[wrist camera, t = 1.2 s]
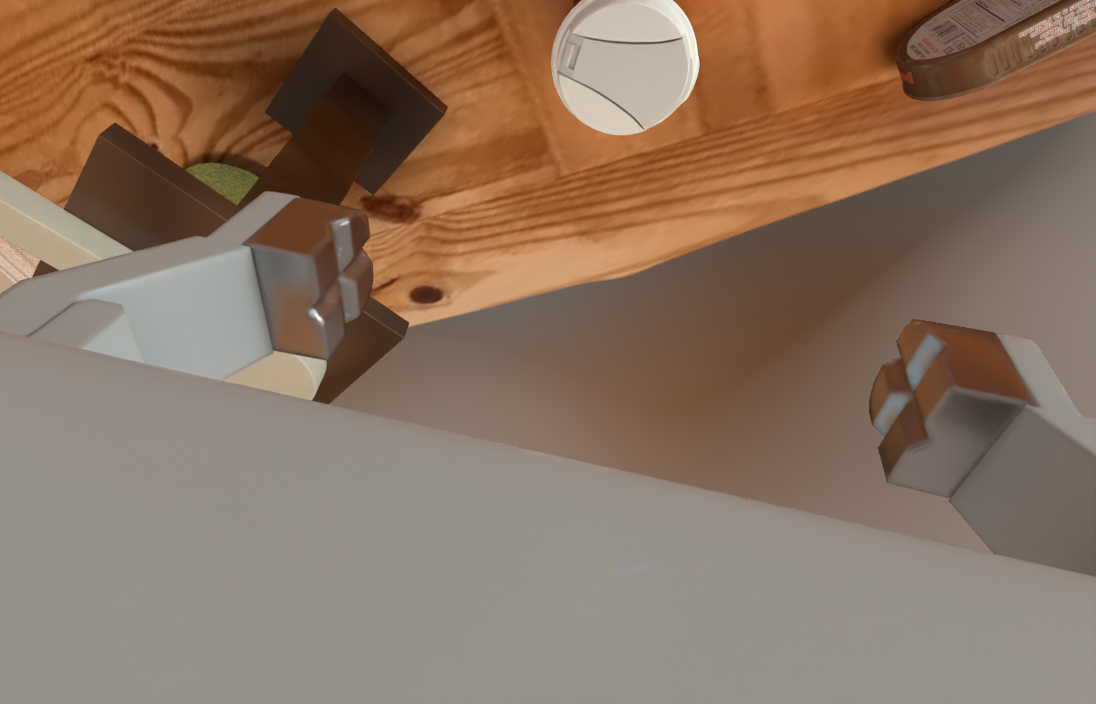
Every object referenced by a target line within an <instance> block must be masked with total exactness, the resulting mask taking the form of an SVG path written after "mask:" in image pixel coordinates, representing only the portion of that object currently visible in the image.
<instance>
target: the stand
mask: <svg viewBox="0 0 1096 704" xmlns="http://www.w3.org/2000/svg"><path fill="white" fill-rule="evenodd" d="M447 108H448V107H447V106H446V105H444V104H443V103H442V102H441V101H440V100H439V99H438V98H437V97H435V96H434V95H433V94H432V93H431V92H430V91H429V90H428V89H426V88H425V87H424V86H423V85H422V84H421V83H420V82H418V81H417V80H416V79H415V78H414V77H413V76H412V75H411V74H409V73H408V72H407V71H406V70H405V69H404V68H403V67H402V66H400V65H399V64H398V63H397V62H396V61H395V60H394V59H392V58H391V57H390V56H389V55H388V54H387V53H386V52H385V51H383V50H382V49H381V48H380V47H379V46H378V45H377V44H376V43H374V42H373V41H372V40H371V39H370V38H369V37H368V36H366V35H365V34H364V33H363V32H362V31H361V30H360V29H359V28H357V27H356V26H355V25H354V24H353V23H352V22H351V21H350V20H348V19H347V18H346V17H345V16H344V15H343V14H342V13H340V12H339V11H338V10H337V9H336V8H335V9H334V10H333V11H332V12H331V13H330V14H329V16H328V17H327V19H326V20H325V22H324V23H323V25H322V26H321V28H320V29H319V31H318V32H317V34H316V35H315V37H314V38H313V40H312V41H311V43H310V44H309V46H308V47H307V49H306V50H305V52H304V54H303V55H302V57H301V58H300V60H299V61H298V63H297V64H296V66H295V67H294V69H293V70H292V72H291V73H290V75H289V76H288V78H287V79H286V81H285V82H284V84H283V85H282V87H281V88H280V90H279V92H278V93H277V95H276V96H275V98H274V99H273V101H272V102H271V104H270V105H269V107H268V108H267V110H266V111H265V113H267V114H268V115H269V116H271V117H272V118H273V119H274V120H276V121H277V122H278V123H280V124H281V125H282V126H284V127H285V128H286V129H288V130H289V131H290V132H291V133H293V134H294V135H293V136H292V137H291V139H290V140H289V141H288V142H287V144H286V145H285V146H284V147H283V149H282V150H281V151H280V152H279V154H278V155H277V156H276V157H275V159H274V160H273V161H272V162H271V164H270V165H269V166H268V167H267V169H266V170H265V171H264V172H263V174H262V175H261V176H260V177H259V179H258V180H257V181H256V182H255V184H254V185H253V186H252V187H251V189H250V190H249V191H248V192H247V194H246V195H245V196H244V197H243V199H242V200H241V201H240V202H239V204H238V205H236V204H234V203H233V202H231V201H230V200H228V199H227V198H225V197H224V196H222V195H221V194H219V193H218V192H217V191H215V190H214V189H212V188H211V187H209V186H208V185H206V184H205V183H203V182H202V181H200V180H199V179H197V178H196V177H195V176H193V175H192V174H190V173H189V172H187V171H186V170H184V169H183V168H181V167H180V166H178V165H177V164H175V163H174V162H172V161H171V160H170V159H168V158H167V157H165V156H164V155H162V154H161V153H159V152H158V151H156V150H155V149H153V148H152V147H150V146H149V145H148V144H146V143H145V142H143V141H142V140H140V139H139V138H137V137H136V136H134V135H133V134H131V133H130V132H128V131H127V130H126V129H124V128H123V127H121V126H120V125H118V124H117V123H114V124H112V125H111V126H110V127H109V128H107V129H106V130H105V131H103V132H102V133H101V134H100V135H99V136H98V138H97V140H96V142H95V144H94V147H93V149H92V151H91V153H90V155H89V157H88V159H87V161H86V164H85V166H84V168H83V170H82V172H81V174H80V176H79V179H78V181H77V183H76V185H75V187H74V189H73V191H72V193H71V196H70V198H69V200H68V202H67V204H66V206H65V208H64V210H66V211H67V212H69V213H71V214H72V215H74V216H76V217H77V218H79V219H81V220H82V221H84V222H86V223H87V224H89V225H91V226H92V227H94V228H96V229H97V230H99V231H101V232H102V233H104V234H105V235H107V236H109V237H110V238H112V239H114V240H115V241H117V242H119V243H120V244H122V245H124V246H125V247H127V248H129V249H130V250H132V251H134V252H135V251H138V250H142V249H146V248H150V247H154V246H158V245H162V244H166V243H170V242H174V241H178V240H182V239H186V238H190V237H194V236H200V237H205V238H207V237H208V236H209V235H210V234H212V233H213V232H214V231H215V230H217V229H218V228H219V227H220V226H222V225H223V224H224V223H225V222H227V221H228V220H229V219H230V218H232V217H233V216H234V215H235V214H237V213H238V212H239V211H240V210H242V209H243V208H244V207H246V206H247V205H248V204H249V203H251V202H252V201H253V200H254V199H256V198H257V197H258V196H259V195H261V194H262V193H263V192H264V191H272V192H279V193H285V194H291V195H296V196H299V197H301V198H302V197H304V198H309V199H313V200H318V201H322V202H327V203H332V204H336V205H340V204H341V202H342V201H343V199H344V197H345V196H346V194H347V192H348V190H349V189H350V187H351V185H352V184H353V182H354V181H356V182H357V183H358V184H360V185H361V186H362V187H364V188H365V189H366V190H367V191H369V192H370V193H371V194H373V195H374V194H375V193H376V192H377V191H378V190H379V188H380V187H381V186H382V185H383V184H384V183H385V182H386V180H387V179H388V178H389V177H390V176H391V175H392V174H393V172H394V171H395V170H396V169H397V168H398V167H399V166H400V164H401V163H402V162H403V161H404V160H405V159H406V158H407V157H408V155H409V154H410V153H411V152H412V151H413V150H414V149H415V147H416V146H417V145H418V144H419V143H420V142H421V141H422V139H423V138H424V137H425V136H426V135H427V134H428V133H429V131H430V130H431V129H432V128H433V127H434V126H435V125H436V124H437V122H438V121H439V120H440V119H441V118H442V117H443V116H444V114H445V112H446V110H447ZM56 271H60V270H58V269H56V268H54V267H53V266H51V265H49V264H47V263H45V262H44V261H42V260H40V262H39V264H38V266H37V268H36V270H35V272H34V274H33V277H36V276H40V275H44V274H48V273H52V272H56ZM408 325H409V322H407V321H406V320H404V319H403V318H401V317H400V316H398V315H397V314H396V313H394V312H393V311H391V310H390V309H388V308H387V307H385V306H384V305H382V304H381V303H379V302H378V301H376V300H375V299H373V298H372V297H371V296H370V297H369V300H368V303H367V306H366V308H365V309H364V310H363V312H362V313H361V315H360V316H359V317H358V318H356V319H354V320H351V321H349V322H346V323H345V327H346V336H345V337H344V338H343V340H342V341H341V342H340V344H339V345H338V346H337V348H336V349H335V350H334V352H333V353H332V354H331V356H330V357H329V359H328V360H327V361H326V362H327V367H326V372H325V374H324V376H323V379H322V381H321V383H320V385H319V387H318V390H317V392H316V394H315V396H314V398H313V399H312V401H315V402H320V403H324V404H329V403H330V402H332V401H333V400H334V399H335V398H336V397H338V396H339V395H340V394H341V393H342V392H343V391H344V390H345V389H347V388H348V387H349V386H350V385H351V384H352V383H353V382H355V381H356V380H357V379H358V378H359V377H360V376H361V375H363V374H364V373H365V372H366V371H367V370H368V369H369V368H371V367H372V366H373V365H374V364H375V363H376V362H377V361H379V360H380V359H381V358H382V357H383V356H384V355H385V354H386V353H388V352H389V351H390V350H391V349H392V348H393V347H394V346H396V345H397V344H398V343H399V342H400V341H401V340H402V339H403V338H404V337H405V334H406V331H407V328H408Z"/></svg>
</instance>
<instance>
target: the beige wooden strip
mask: <svg viewBox="0 0 1096 704" xmlns="http://www.w3.org/2000/svg"><path fill="white" fill-rule="evenodd" d="M0 237H1V238H3V239H5V240H6V241H8V242H10V243H12V244H14V245H15V246H17V247H19V248H21V249H22V250H24V251H26V252H28V253H30V254H31V255H33V256H35V257H37V258H38V259H40V260H42V261H44V262H45V263H47V264H49V265H51V266H53V267H54V268H56V269H58V270H64V269H68V268H72V267H75V266H79V265H83V264H87V263H91V262H95V261H99V260H103V259H107V258H111V257H115V256H119V255H123V254H127V253H131V252H134V251H132V250H130V249H129V248H127V247H125V246H124V245H122V244H120V243H119V242H117V241H115V240H114V239H112V238H110V237H109V236H107V235H105V234H104V233H102V232H101V231H99V230H97V229H96V228H94V227H92V226H91V225H89V224H87V223H86V222H84V221H82V220H81V219H79V218H77V217H76V216H74V215H72V214H71V213H69V212H67V211H66V210H64V209H62V208H61V207H59V206H57V205H56V204H54V203H52V202H51V201H49V200H48V199H46V198H44V197H43V196H41V195H39V194H38V193H36V192H34V191H33V190H31V189H29V188H28V187H26V186H24V185H23V184H21V183H19V182H18V181H16V180H14V179H13V178H11V177H9V176H8V175H6V174H4V173H3V172H1V171H0ZM326 367H327V362H326V361H325V360H320V359H315V358H310V357H304V356H299V355H294V354H289V353H283V352H278V351H273V354H271V355H269V356H267V357H266V358H264V359H262V360H260V361H258V362H256V363H254V364H253V365H251V366H249V367H247V368H245V369H243V370H241V371H239V372H238V373H236V374H234V375H232V376H230V377H228V378H226V379H224V380H223V381H226V382H231V383H235V384H240V385H244V386H249V387H253V388H258V389H262V390H266V391H271V392H275V393H280V394H284V395H289V396H293V397H298V398H302V399H307V400H311V401H312V399H313V398H314V396H315V394H316V392H317V390H318V387H319V385H320V383H321V381H322V379H323V376H324V374H325V372H326Z"/></svg>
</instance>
